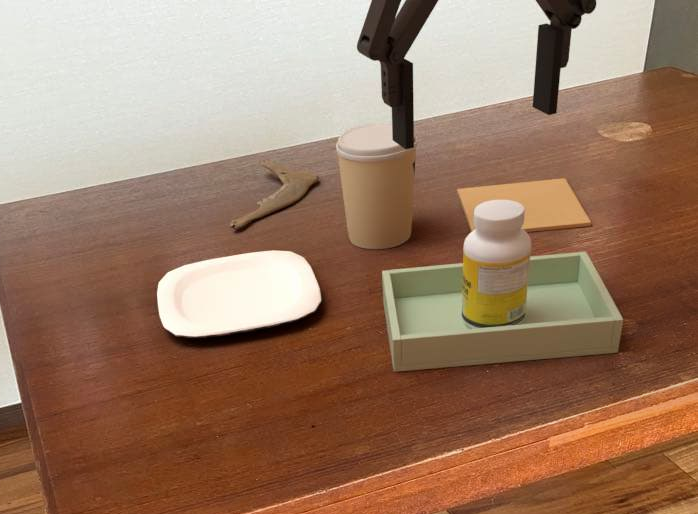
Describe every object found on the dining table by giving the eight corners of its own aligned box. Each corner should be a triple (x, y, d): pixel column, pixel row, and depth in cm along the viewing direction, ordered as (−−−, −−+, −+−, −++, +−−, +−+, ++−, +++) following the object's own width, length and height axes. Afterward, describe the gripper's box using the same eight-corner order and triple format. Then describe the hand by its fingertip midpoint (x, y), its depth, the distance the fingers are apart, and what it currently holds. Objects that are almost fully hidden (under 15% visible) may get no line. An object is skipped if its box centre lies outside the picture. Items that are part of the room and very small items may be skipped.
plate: (332, 327, 95) (330, 312, 93) (164, 356, 94) (161, 342, 92) (303, 256, 108) (301, 242, 107) (156, 280, 107) (153, 267, 106)
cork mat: (564, 181, 116) (565, 177, 116) (590, 226, 106) (591, 222, 105) (457, 192, 117) (457, 188, 117) (472, 237, 107) (472, 233, 106)
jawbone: (323, 175, 128) (323, 160, 126) (297, 239, 113) (297, 223, 112) (262, 171, 129) (261, 157, 128) (229, 234, 115) (228, 219, 113)
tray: (582, 282, 96) (586, 251, 94) (618, 352, 85) (623, 319, 83) (383, 300, 98) (381, 270, 95) (393, 372, 87) (392, 339, 84)
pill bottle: (478, 299, 94) (483, 191, 87) (536, 312, 91) (546, 200, 83) (449, 327, 91) (451, 217, 83) (508, 341, 88) (516, 228, 80)
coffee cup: (433, 234, 108) (434, 133, 100) (373, 260, 105) (368, 156, 97) (385, 213, 114) (382, 115, 106) (327, 236, 111) (319, 137, 103)
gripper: (608, -214, 67) (577, 86, 82) (302, -163, 63) (325, 145, 77) (671, -214, 62) (626, 107, 76) (341, -158, 57) (358, 172, 72)
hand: (474, 127), depth 77 cm, fingers open, 13 cm apart
